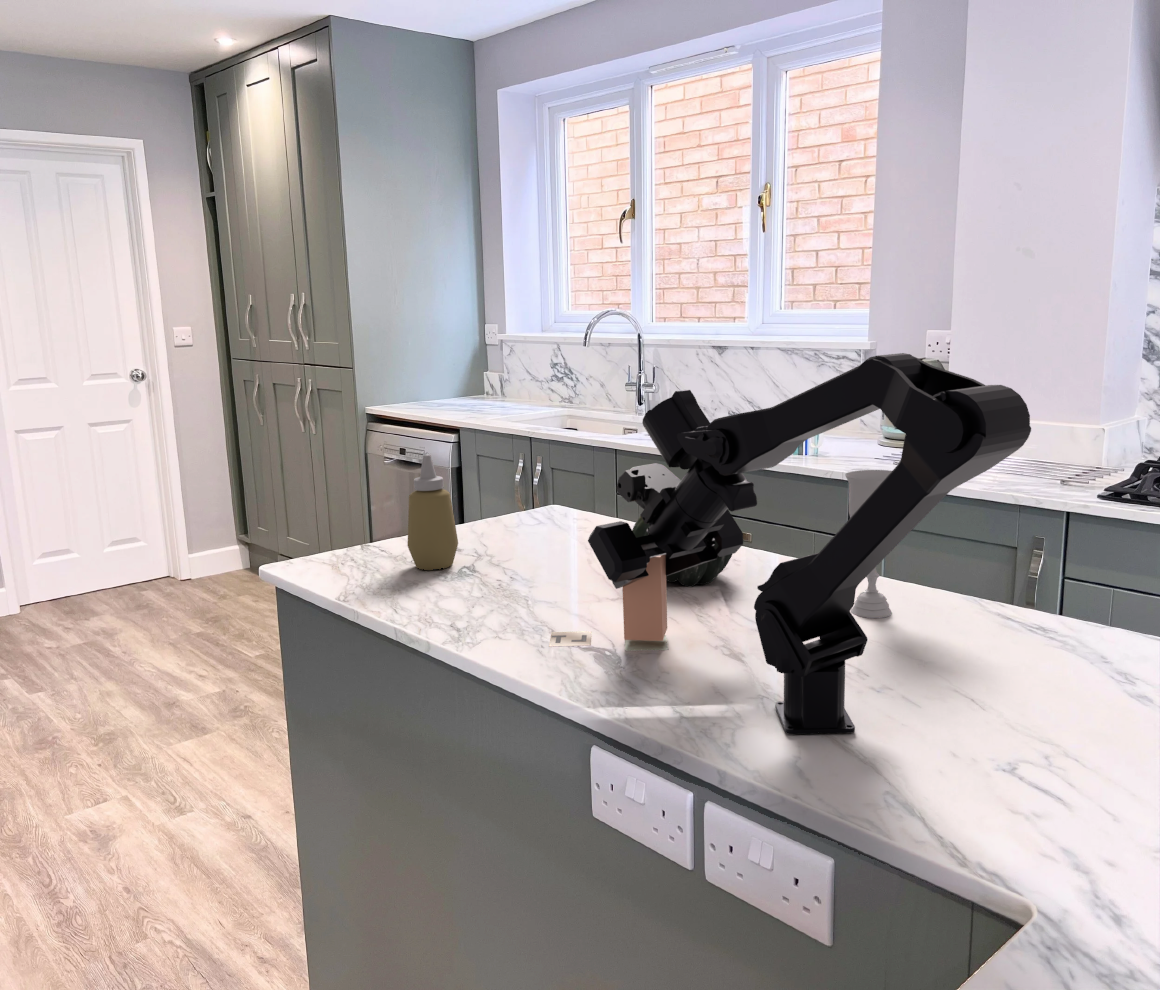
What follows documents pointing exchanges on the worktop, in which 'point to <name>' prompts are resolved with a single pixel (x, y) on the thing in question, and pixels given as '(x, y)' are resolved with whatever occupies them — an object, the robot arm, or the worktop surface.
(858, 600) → the chalice
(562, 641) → the walnut board
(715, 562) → the squash
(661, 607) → the terracotta block
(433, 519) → the squeeze bottle
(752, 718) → the worktop surface
